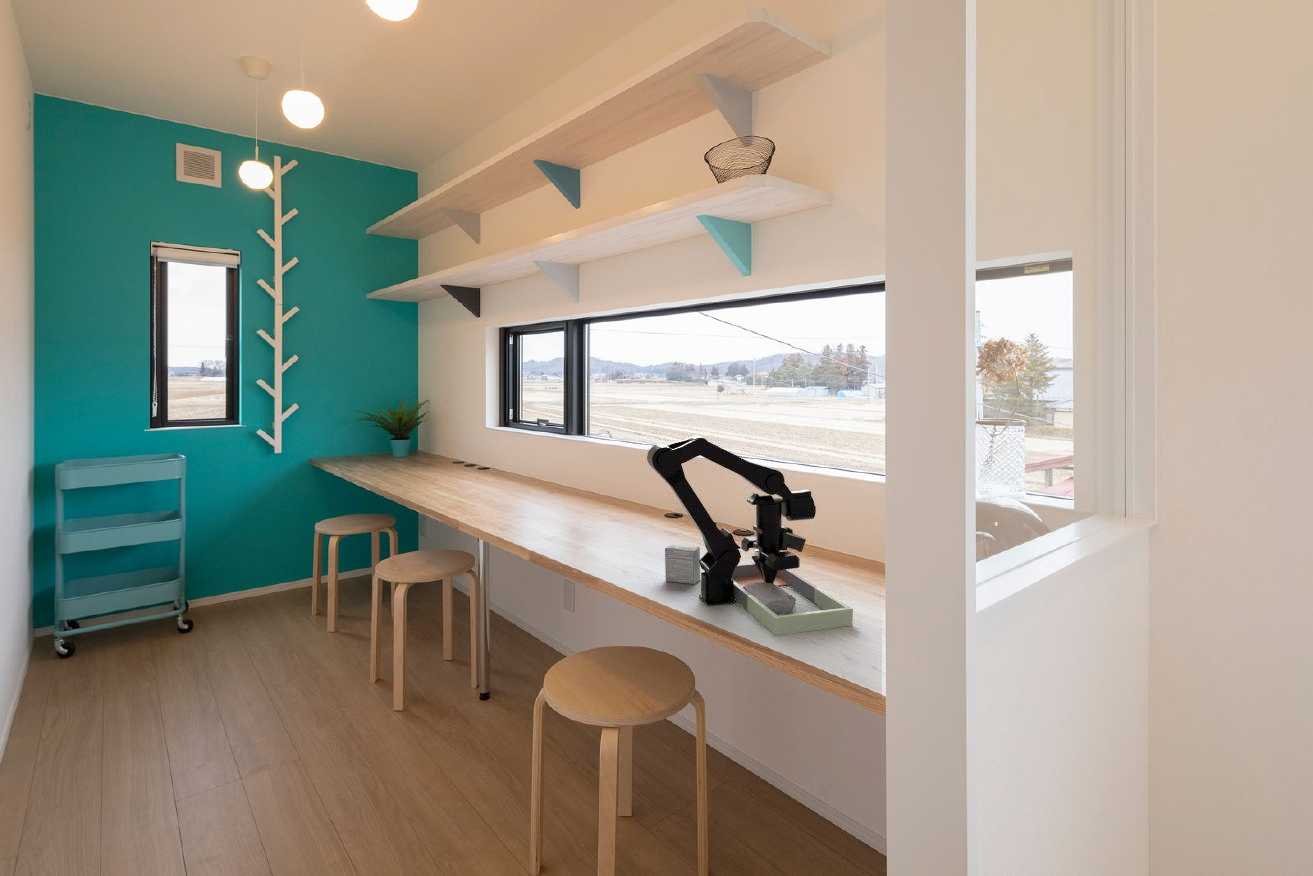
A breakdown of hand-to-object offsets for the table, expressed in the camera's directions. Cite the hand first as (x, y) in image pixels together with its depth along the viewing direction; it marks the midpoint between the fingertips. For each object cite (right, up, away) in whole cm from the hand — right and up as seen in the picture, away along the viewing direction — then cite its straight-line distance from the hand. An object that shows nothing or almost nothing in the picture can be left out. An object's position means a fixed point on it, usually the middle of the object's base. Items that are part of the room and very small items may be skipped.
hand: (769, 588), depth 152 cm
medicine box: (-19, -1, +12) cm, 23 cm away
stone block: (-1, -3, -7) cm, 7 cm away
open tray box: (+1, -2, -4) cm, 4 cm away
